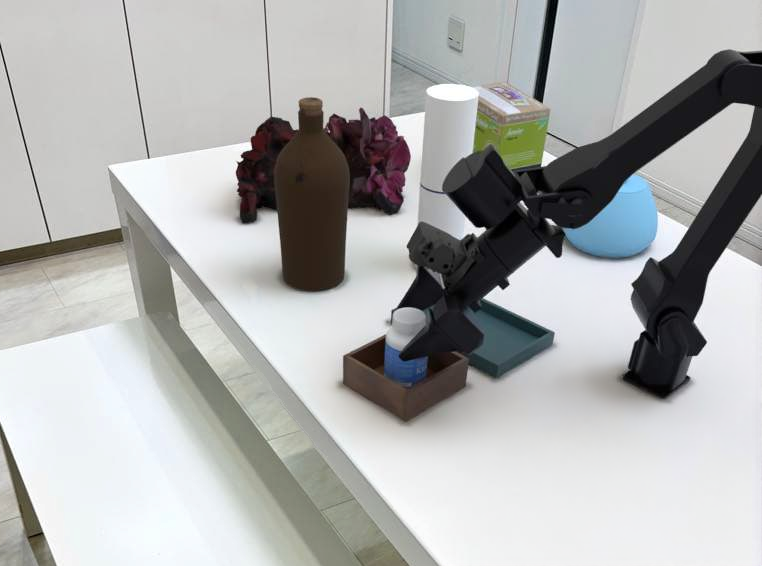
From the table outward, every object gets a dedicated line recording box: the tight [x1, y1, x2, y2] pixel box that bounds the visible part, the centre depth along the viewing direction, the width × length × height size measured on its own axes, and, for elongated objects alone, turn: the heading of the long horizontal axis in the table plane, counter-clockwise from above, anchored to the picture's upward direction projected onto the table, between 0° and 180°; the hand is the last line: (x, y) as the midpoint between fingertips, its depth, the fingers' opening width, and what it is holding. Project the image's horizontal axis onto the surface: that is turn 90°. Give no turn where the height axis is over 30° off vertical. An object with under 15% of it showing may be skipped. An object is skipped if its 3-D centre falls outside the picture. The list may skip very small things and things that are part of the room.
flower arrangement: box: [235, 107, 412, 224], centre depth 146 cm, size 31×20×15 cm, turn 107°
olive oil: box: [274, 96, 350, 292], centre depth 122 cm, size 11×11×25 cm
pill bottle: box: [384, 307, 428, 390], centre depth 107 cm, size 6×5×10 cm
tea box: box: [471, 81, 552, 171], centre depth 154 cm, size 15×10×15 cm, turn 25°
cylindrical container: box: [414, 83, 479, 269], centre depth 126 cm, size 7×7×25 cm
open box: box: [342, 333, 470, 423], centre depth 109 cm, size 11×11×4 cm
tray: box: [390, 297, 556, 379], centre depth 119 cm, size 19×12×2 cm, turn 44°
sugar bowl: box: [563, 173, 659, 259], centre depth 138 cm, size 15×15×12 cm
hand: (397, 338), depth 106 cm, fingers open, 9 cm apart
